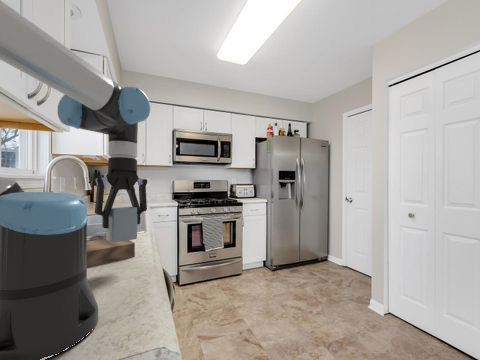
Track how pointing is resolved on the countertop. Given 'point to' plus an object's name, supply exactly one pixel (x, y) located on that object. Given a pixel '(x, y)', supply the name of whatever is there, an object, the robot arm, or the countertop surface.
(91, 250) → the walnut block
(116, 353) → the countertop surface
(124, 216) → the slate block
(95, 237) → the packaged food
